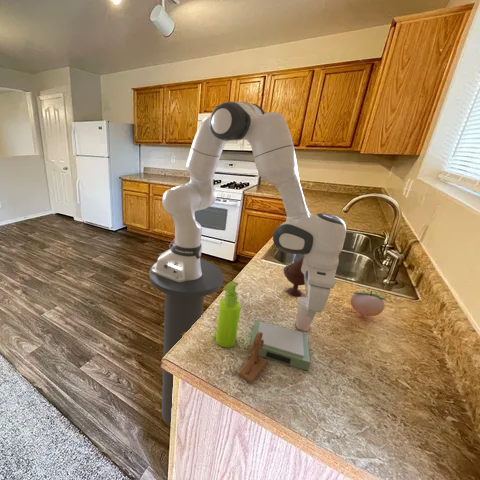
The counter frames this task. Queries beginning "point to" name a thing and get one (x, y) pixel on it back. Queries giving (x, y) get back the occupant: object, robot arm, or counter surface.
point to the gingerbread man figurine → (253, 361)
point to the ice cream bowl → (295, 277)
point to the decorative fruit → (367, 303)
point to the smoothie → (303, 315)
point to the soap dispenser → (228, 317)
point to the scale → (283, 344)
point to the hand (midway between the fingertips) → (308, 307)
